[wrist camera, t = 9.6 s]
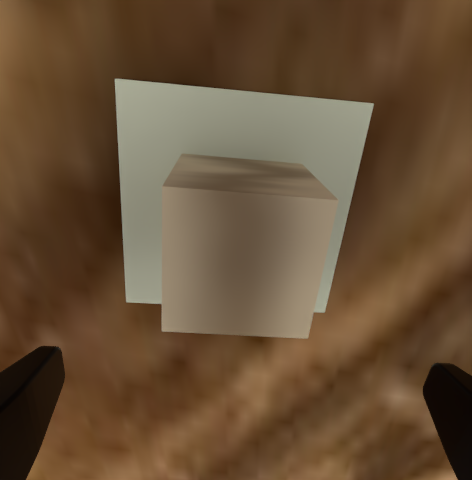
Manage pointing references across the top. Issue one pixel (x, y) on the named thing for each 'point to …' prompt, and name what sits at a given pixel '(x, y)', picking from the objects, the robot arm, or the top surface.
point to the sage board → (225, 145)
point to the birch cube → (243, 246)
